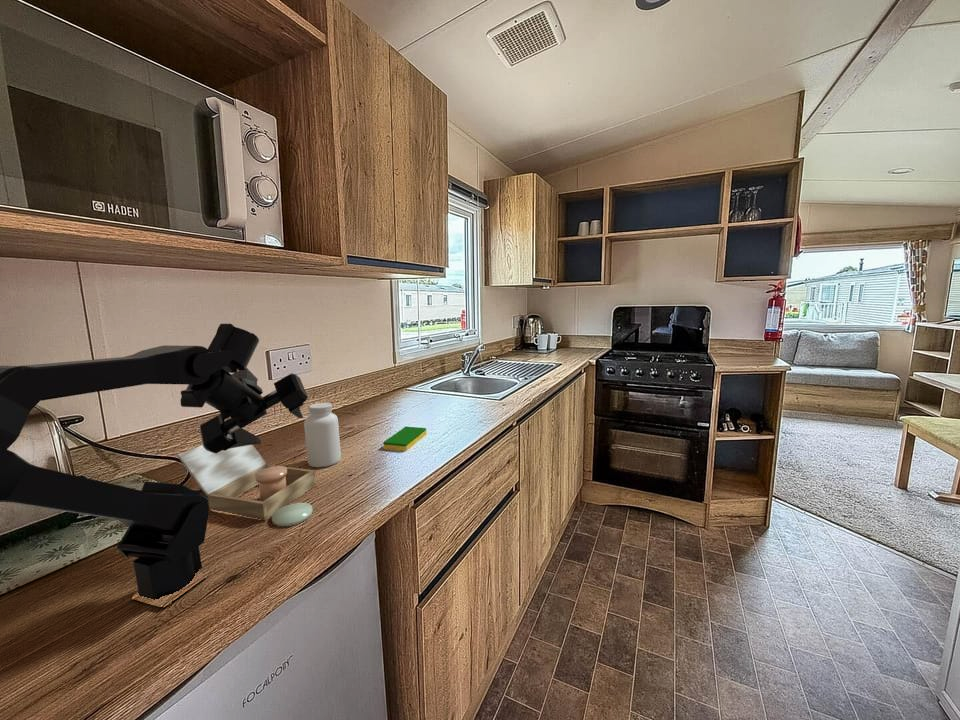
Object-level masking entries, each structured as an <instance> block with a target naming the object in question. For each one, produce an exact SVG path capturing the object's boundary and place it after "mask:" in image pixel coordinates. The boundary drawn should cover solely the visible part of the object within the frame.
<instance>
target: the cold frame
mask: <svg viewBox="0 0 960 720" xmlns="http://www.w3.org/2000/svg"><path fill="white" fill-rule="evenodd" d="M176 456H177V458H178V459H179V461H180V462H181V463H182V465H183V466H184V467H185V468H186V470H187V471H188V472H189V474H190V475H191V476H192V478H193V479H194V481H195V482H196V483H197V484H198V486H199V487H200V488H201V490H202V492H204V494H205V495H206V496H207V499H208V500H209V501H208V505H209V510H210V509H213V510H217V511H223V512H228V513H232V514H238V515H242V516H246V517H252V518H257V519H261V520H260V521H262V520H266V519H267V520H269V519H270V518H271V517H272V515H273V514H274V512H276V511H277V510H278V509H280V508H282V507H284V506H286V505H288V504H289V503H290V504H292V503H293V502H294V501H296V500H297V499H299V498H300V497H301V495H302V496H303V495H305V494H306V493H307V492H309V491H310V490H312V489H313V488H315V487H316V486H317V477H316V469H314V470H313V469H305V468H297V467H291V466H290V467H289V466H285V467H286V468H287V475H286V482H290V483H289V484H287V487H285V488H283V489H282V490H280V491H279V492H277V493H275V494H274V495H272V496H271V497H269V498H268V499H266V500H264V501H260V500H256V499H250V498H244V497H236V496H238V495H239V494H241V493H243V492H245V491H247V490H249V489H250V488H252V487H254V486H256V485H258V482H257V481H256V478H255V474H256V473H257V472H258V471H260V470H262V469H265V468H268V467H273V466H276V465H274V464H268V463H267V462H266V460H265V459H264V458H263V456H262V455H261V454H260V453H259V451H258V450H257V448H256V447H255V446H254V445H247V446H241V447H236V448H231V449H228V450H226V451H223V450H222V451H220V452H218V453H212V452H210V451H207V450H206V449H205V448H204V447H203V444H201V445H199V446H197V447H194V448H192V449H189V450H186V451H183V452H181V453H178V454H177V455H176ZM315 485H316V486H315ZM314 486H315V487H314ZM312 487H313V488H312ZM311 488H312V489H311ZM308 490H309V491H308ZM305 492H306V493H305ZM298 497H299V498H298ZM295 499H296V500H295ZM292 501H293V502H292ZM291 502H292V503H291ZM270 516H271V517H270ZM269 517H270V518H269ZM267 520H266V521H267Z"/></svg>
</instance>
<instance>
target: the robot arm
mask: <svg viewBox="0 0 960 720" xmlns="http://www.w3.org/2000/svg"><path fill="white" fill-rule="evenodd" d="M259 343H260V338H259V337H258V336H257V335H256V334H255V333H254V332H253V333H252V332H250V331H248V330H246V329H244V328H240V327H236V326H235V325H233V324H232V323H220V324H219V326H218V327H217V329H216V333H215V335H214V337H213V339H212V340H211V342H210V344H209V345H208V348H207V347H205V346H202V345H165V344H164V345H159V346H156V347H151V348H148V349H143V350H140V351H138V352H136V353H134V354H130V355H126V356H120V357H107V358H97V359H94V358H93V359H85V360H74V361H73V360H71V361H63V362H62V361H61V362H51V363H38V364H37V363H35V364H26V365H0V503H7V504H8V503H9V504H15V505H19V506H20V505H21V506H25V507H26V506H28V507H34V508H41V509H48V510H55V511H61V512H66V513H73V514H79V515H87V516H91V517H92V516H93V517H98V518H99V517H100V518H105V519H106V518H107V519H113V520H116V521H119V522H120V523H121V524H123V525H124V526H126V527H128V528H127V529H126V531H125V532H124V535H123V536H122V538H121V540H120V541H119V542H118V545H117V546H116V549H117V550H118V551H119V552H120V554H121V555H122V557H127V558H128V557H133V558H136V559H134V560H133V561H132V565H133V570H134V575H135V581H136V587H137V592H138V593H139V595H140V596H144V597H147V598H151V599H154V600H155V599H159V598H160V597H162V596H165V595H169V594H173V593H174V592H176V591H179V590H180V589H182V588H183V587H185V586H186V585H187V584H189V583H190V581H192V579H193V578H194V576H195V573H197V572H198V571H199V569H201V568H203V566H202V560H201V552H200V546H201V545H203V544H204V543H205V538H206V532H207V528H208V521H209V516H210V515H209V514H210V509H209V500H208V496H205V495H203V494H201V493H202V492H203V490H202V488H201V489H200V488H199V489H198V488H189V487H187V486H186V485H182V484H181V483H172V482H171V483H170V482H169V483H168V482H160V481H149V480H148V481H147V480H145V481H144V482H143V485H142V488H141V490H140V489H137V488H131V487H128V486H127V487H126V486H123V485H118V484H114V483H110V482H106V481H102V480H97V479H92V478H88V477H83V476H79V475H75V474H71V473H68V472H67V473H66V472H63V471H59V470H58V471H57V470H55V469H50V468H46V467H41V466H36V465H33V464H32V463H30V462H28V461H27V460H26V459H24V458H23V457H21V456H19V455H18V454H17V453H15V452H14V451H12V450H10V449H9V448H10V447H11V446H12V445H13V444H14V443H15V442H16V440H18V438H19V437H20V435H21V432H22V430H23V428H24V427H25V424H26V421H27V420H28V417H29V415H30V413H31V411H32V410H33V409H34V408H35V407H36V406H37V405H38V404H39V403H40V402H41V401H48V400H54V399H60V398H66V397H72V396H73V397H74V396H79V395H86V394H92V393H99V392H104V391H110V390H111V391H112V390H119V389H124V388H130V387H137V386H142V385H187V386H186V389H184V390H181V391H180V395H181V397H180V406H181V407H182V408H200V409H202V408H203V407H204V406H205V404H206V405H208V406H210V407H212V408H214V409H215V410H218V411H219V414H217V415H216V416H213V417H212V418H211V419H209V420H207V421H205V422H203V423H202V424H201V425H199V432H200V437H201V438H200V439H201V442H202V443H201V444H202V445H203V447H204V448H205V449H206V450H207V451H210V452H212V453H218V452H220V451H222V450H223V451H226V450H228V449H231V448H236V447H241V446H247V445H253V446H254V445H260V444H261V443H262V441H261V438H260V437H258V436H257V435H256V434H254V433H251V432H249V431H247V430H246V429H244V428H246V426H249V425H250V424H252V423H253V422H256V421H257V420H258V419H261V418H262V417H264V416H265V415H267V414H268V412H267V410H268V409H270V408H271V407H274V406H275V405H277V404H279V403H281V404H282V405H283V407H285V408H286V409H288V412H289V413H291V414H293V416H296V418H298V419H303V418H304V416H303V414H302V410H301V407H302V406H304V403H305V402H307V400H308V398H309V396H308V394H307V391H306V389H305V387H304V384H303V382H302V380H301V378H300V376H298V375H297V374H295V373H293V372H291V373H289V374H288V375H286V376H284V377H282V378H281V379H279V380H277V381H275V382H273V385H274V388H275V389H274V390H272V391H271V392H270V393H267V394H266V395H264V396H262V394H263V393H264V391H263V388H262V387H260V386H259V385H258V381H259V380H258V378H257V377H256V375H254V373H253V372H252V371H251V370H249V368H247V367H248V365H249V363H250V361H251V359H252V356H253V355H254V352H255V350H256V348H257V347H258V344H259ZM201 570H202V569H201Z"/></svg>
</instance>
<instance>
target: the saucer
mask: <svg viewBox="0 0 960 720" xmlns="http://www.w3.org/2000/svg"><path fill="white" fill-rule="evenodd" d="M313 511H314V510H313V506H312V505H311V504H310V503H309V502H293V503H290V504H289V505H286V506H284V507H282V508H280V509H278V510H277V511H276V512H274V514H273V515H272V516H271V521H272V524H273V525H274V524H275V525H277V526H276V527H279V526H289V527H292V525H294V526H297V525H300V524H302V523H304V522H306V521H307V520H308V519H310V518H309V517H310V516H311V517H312V516H313V513H312V512H313ZM305 520H306V521H305ZM303 521H304V522H303ZM301 522H302V523H301ZM299 523H300V524H299ZM296 524H297V525H296ZM275 525H274V526H275Z"/></svg>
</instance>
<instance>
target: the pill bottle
mask: <svg viewBox="0 0 960 720" xmlns="http://www.w3.org/2000/svg"><path fill="white" fill-rule="evenodd" d="M332 410H333V405H332V403H330V402H317V403H314V404H313V403H312V404H311V405H310V404H309V407H308V411H309V412H308V414H309V416H307V417H306V418H305V419H304V422H303V425H304V436H305V438H304V439H305V446H306V457H307V458H306V459H307V464H308V466H310V467H312V468H326V467H330V466H333V465H336V464H338V463H339V462H340V461H341V459H342V453H341V452H342V451H341V441H340V428H339V419H338V416H337V415H336V414H335V413H333V412H332Z"/></svg>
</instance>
